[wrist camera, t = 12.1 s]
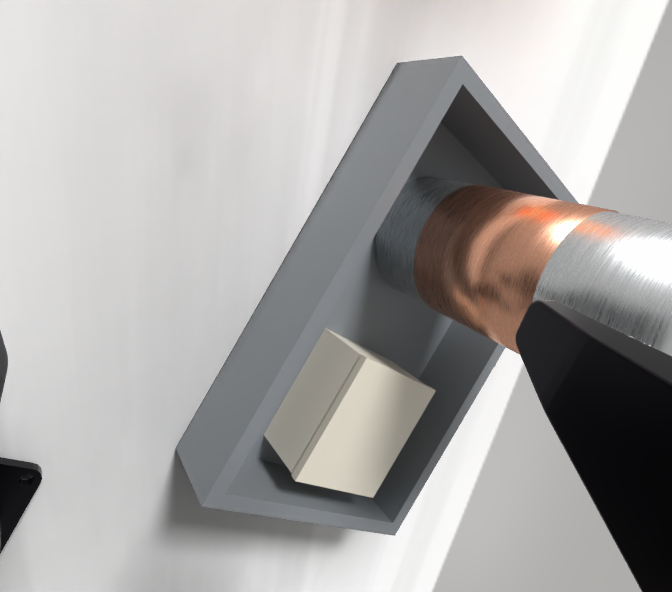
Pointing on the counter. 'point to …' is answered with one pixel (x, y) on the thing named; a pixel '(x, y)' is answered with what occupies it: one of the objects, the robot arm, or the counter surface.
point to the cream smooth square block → (346, 417)
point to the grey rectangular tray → (364, 304)
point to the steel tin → (526, 259)
